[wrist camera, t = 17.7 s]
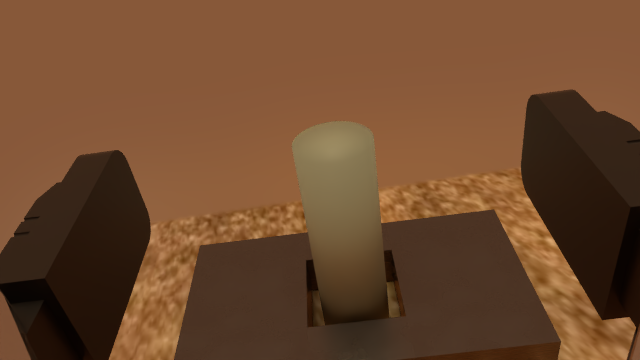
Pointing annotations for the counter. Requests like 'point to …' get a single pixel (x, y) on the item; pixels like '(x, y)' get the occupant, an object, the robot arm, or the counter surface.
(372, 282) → the peg
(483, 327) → the brown block with hole
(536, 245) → the counter surface
